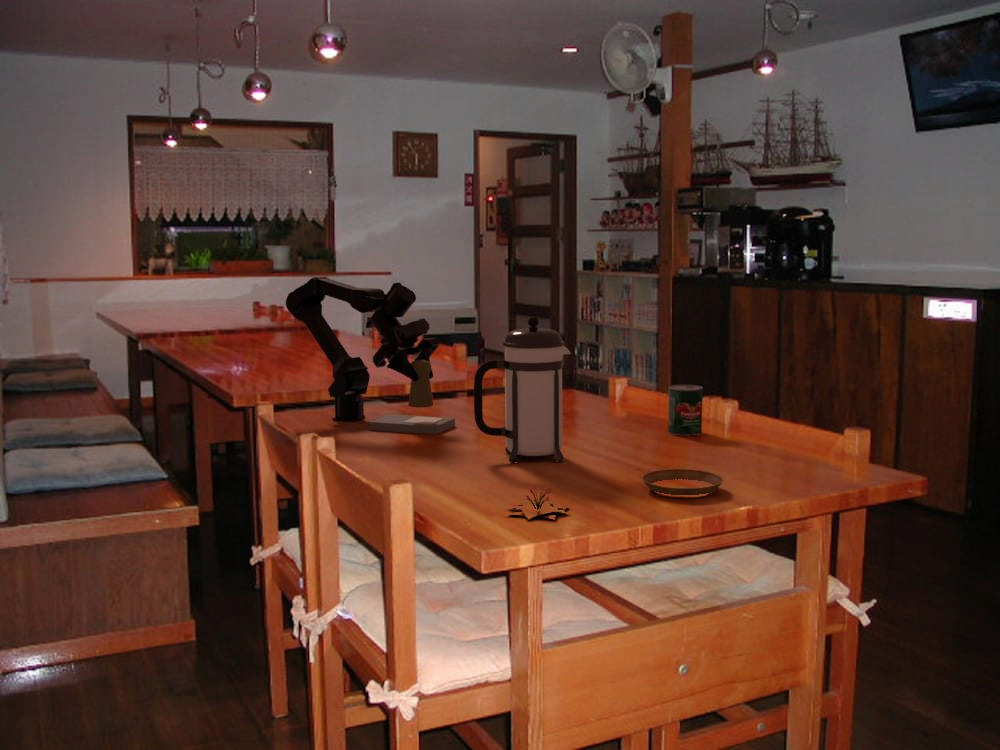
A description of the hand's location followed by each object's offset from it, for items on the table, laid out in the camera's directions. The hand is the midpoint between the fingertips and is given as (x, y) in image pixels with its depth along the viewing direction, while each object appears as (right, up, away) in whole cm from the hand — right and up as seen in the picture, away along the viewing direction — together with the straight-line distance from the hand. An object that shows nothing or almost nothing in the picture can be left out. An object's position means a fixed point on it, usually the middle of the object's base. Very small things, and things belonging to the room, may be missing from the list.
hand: (424, 378), depth 242 cm
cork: (-1, -7, +2) cm, 7 cm away
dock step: (-3, -12, +5) cm, 14 cm away
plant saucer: (+52, -21, -56) cm, 79 cm away
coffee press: (+24, -17, -28) cm, 41 cm away
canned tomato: (+62, -13, -4) cm, 63 cm away
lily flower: (+25, -23, -70) cm, 78 cm away
